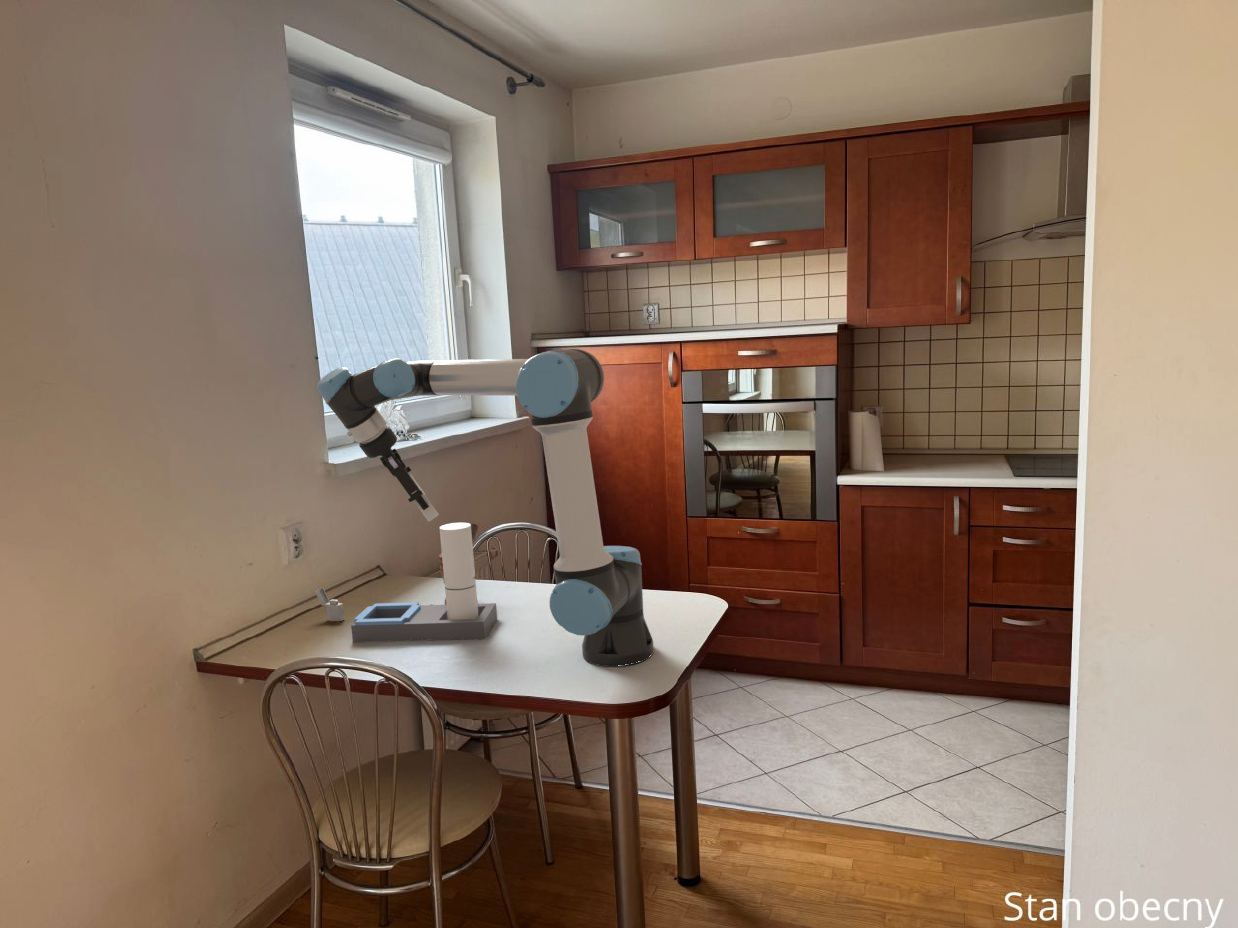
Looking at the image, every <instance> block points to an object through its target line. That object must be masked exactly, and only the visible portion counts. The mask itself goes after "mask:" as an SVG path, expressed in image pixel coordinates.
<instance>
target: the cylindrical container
mask: <svg viewBox="0 0 1238 928" xmlns="http://www.w3.org/2000/svg"><path fill="white" fill-rule="evenodd" d="M469 523H470V522H451V523H446V524H443V525H441V526H439V536H440V547H441V548H440V549H441V553H442V561H443V572H444V580H443V584H444V583H445V584H444V593H445V598H446V605H447V616H448V620H463V619H477V618H478V617H479V615H478V604H479V603H478V596H477V594H478V593H477V583H476V571H475V560H474V559H475V558H474V547H473V546H474V545H473V541H472V533H471V524H469Z"/></svg>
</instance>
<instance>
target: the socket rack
mask: <svg viewBox="0 0 1238 928" xmlns="http://www.w3.org/2000/svg"><path fill="white" fill-rule="evenodd" d="M478 615H479V617H478V618H477V619H463V620H448V616H447V605H445V604H430V605H429V604H425V605H424V604H422V605H421V604H420V602H419V601H418V602H415V601H413V602H387V603H386V602H385V603H384V602H383V603H381V602H380V603H374V604H373V605H372V606H371V605H370V606H367V607H366V608H364V610H362V612H360V613H359V614H358V615H357V616H356V617H354V619H353V623H352V624H351V625H350V626H351V638H352V642H353V643H360V642H361V643H364V642H366V643H368V642H374V643H375V642H407V641H408V642H409V641H414V642H415V641H445V640H446V641H449V640H482V639H483V640H484V639H486V637H487V636H488V635H489V633H490V631H491V629H492V628H494V627H493V626H494V625H495V624H496V622H497V620H498V612H497V603H494V602H490V603H478Z"/></svg>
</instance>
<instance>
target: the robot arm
mask: <svg viewBox="0 0 1238 928" xmlns="http://www.w3.org/2000/svg"><path fill="white" fill-rule="evenodd" d="M604 384H605V372H604V370H603V366H602V365H601V363H600V361H599V360H598V359H597V357H595V356H594V355H593V354H592V353H590V352H589V351H586V350H583V349H579V348H570V349H561V350H560V349H558V350H548V351H543V352H541V353H538V354H535V355H533V356H532V357H530V358H513V359H512V358H509V359H459V360H458V359H457V360H456V359H454V360H453V359H451V360H448V359H447V360H445V359H444V360H431V359H420V360H419V359H418V360H413V361H404V360H402V359H401V358H396V357H395V358H392V359H389V360H385V361H381V362H380V363H379V364H377V365H374V366H372V367H370V368H367V369H365V370H363V371H361V372H357V373H354V374H353V373H352V372H351V371H350V370H349V369H348V368H347V367H344V366H342V367H338V368H335V369H333V370H332V371H330V372H328V373H327V374H326V375H324V376H323V377H322V378H321V379H320V380H319V381H318V382H317V388H316V390H318V392H319V394H320V395H321V397H322V398H323V400H324V401H325V404H326V405H327V406H328V407H329V408H330V410H332V412H333V413H334V414H335V415H336V417H337V418H338V419H339V420H340V422H341V423H342V424H343V426H344V427H345V429H347V432H346V436H347V437H351V436H352V438H353V439H354V440H355V442H356V443H359V445H358V446H359V447H360V449H361V450H362V452H363V453H364V455H365V456H366V457H367V458H368V459H374V458H377V457H379V460H380V461H381V463H382V465H383V466H384V467H385V468H386V469H387V470H388V471H389V473H390V474H391V475H392V476H393V477H395V478H396V479H397V480H398V482H399V483H400V485H401V486H402V487H403V489H404V490H405V492H406V493H407V494H408V495H409V498H408V502H409V503H411V502H413V503H414V504H415V506H416V507H417V508H418V510H419V511H420V513H421V514H422V515H423V516H424V518H425V519H426V520H427V522H428V523H430V522H431V521H432V520H434V519H436V518H437V517H439V515H440V514H439V513H438V511H437V509H436V508H435V507H434V506H433V504H432V503H431V502H430V500H429V499H428V498H427V494H426V493H425V491H424V490H423V489H422V487H421V486H420V484H419V483H418V482H417V481H416V478H414V476H413V475H412V473H410V472H411V471H412V469H411V468H410V466H406V464H405V463H404V462H403V460H402V457H401V455H400V454H399V452H398V450H397V449H396V448H393V447H394V445H396V443H397V440H398V437H397V435H396V434H395V432H394V431H393V430H392V428H391V427H390V425H387V421H386V419H385V418H384V416H383V415H382V414H381V412H380V411H379V410H378V408H377V407H376V406H379V405H381V404H383V403H387V402H389V401H395V400H400V399H406V398H408V399H409V398H411V397H413V398H414V397H423V396H424V397H425V396H517V398H518V401H519V403H520V405H521V406H522V407H523V408H524V409H525V410H526V411H527V412H528V413H529V415H530V420H531V421H530V422H531V426H532V429H534V430H535V431H537V432H538V433H539V434H540V435H541V438H542V439H541V440H542V445H543V452H544V457H545V459H544V460H545V466H546V472H547V478H548V479H547V480H548V484H549V485H548V486H549V492H550V498H551V506H552V511H553V517H554V518H553V519H554V524H555V532H556V539H557V544H558V551H559V558H557V560H556V562H555V563H554V564H553V571H554V577H555V586H554V587H553V589H552V592H551V594H550V596H549V609H550V613H551V615H552V618H553V619H554V620H555V622H556V623H557V624H558V625H559V627H561V628H563V629H565V631H566V632H568V633H570V634H573V635H575V636H584V637H583V640H582V644H581V645H582V646H581V650H582V658H583V659H584V660H586V661H587V662H588V663H590V662H591V664H593V663H594V664H593V665H596V664H598V665H597V666H602V665H606V666H605V667H619V666H618V665H625V664H631V663H636V662H638V661H642V660H644V659H646V658H648V657H649V656H650V655H651V654H652V653H653V654H654V652H653V651H654V640H653V636H652V634H651V632H650V629H649V627H648V624H647V621H646V620H645V617H644V615H645V614H644V598H643V595H644V594H643V577H642V575H643V573H642V566H643V563H642V561H641V553H640V551H639V550H638V549H637V548H635V547H632V546H624V545H623V546H622V545H604V542H603V541H604V540H603V535H602V534H603V533H602V528H601V520H600V514H599V513H600V512H599V507H598V500H597V493H596V485H595V479H594V471H593V464H592V459H591V452H590V451H591V450H590V443H589V436H588V432H587V428H588V426H589V425H590V423H591V422H592V420H593V418H594V415H593V409H592V403H593V402H595V400H596V399H597V398H599V396H600V394H601V393H602V390H603V387H604ZM392 448H393V449H392ZM653 654H652V655H653ZM649 658H650V657H649ZM649 658H648V659H649ZM646 660H647V659H646ZM644 661H645V660H644ZM642 662H643V661H642ZM636 664H637V663H636Z"/></svg>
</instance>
